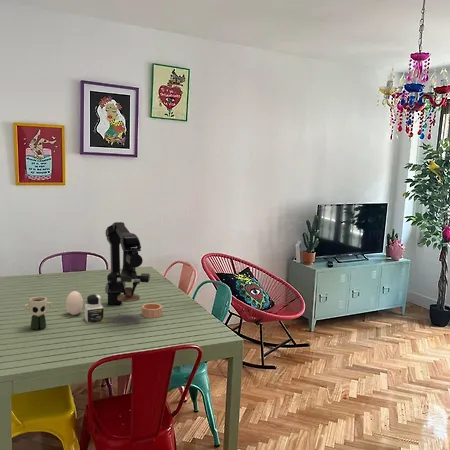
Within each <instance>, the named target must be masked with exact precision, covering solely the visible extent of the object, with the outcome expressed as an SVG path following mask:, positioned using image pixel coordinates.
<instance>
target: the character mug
mask: <svg viewBox="0 0 450 450" xmlns="http://www.w3.org/2000/svg"><path fill="white" fill-rule="evenodd" d="M48 305H49V306H48ZM23 307H24V310H23V311H24V312H25V313H26V312H29V314H30V315H31V320H30V328H31V329H33V330H39V328H40V330H43V329H45V328H46V327H47V321H46V316H45V314H46V313H47V311H48V310H52V308H53V305H52V301H48V298H47V297H46V296H34V297H30V298H29V301H28V303H26V304H24V305H23Z"/></svg>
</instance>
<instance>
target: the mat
mask: <svg viewBox="0 0 450 450" xmlns="http://www.w3.org/2000/svg"><path fill="white" fill-rule="evenodd" d="M142 317H143V316H142V315H141V314H129V313H128V314H125V313H118V315H117V316H116V317H115V320H113V323H116V324H119V323H121V324H137V325H138V324H139V322H140V320H141V318H142Z"/></svg>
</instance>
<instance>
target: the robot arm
mask: <svg viewBox="0 0 450 450" xmlns="http://www.w3.org/2000/svg"><path fill="white" fill-rule="evenodd" d="M105 237H106V241H107V242H108V243H109V246H110V247H109V249H110V250H109V251H110V273H108V275H107V277H106V278H107V279H106V280H107V282H106V285H105V287H104V291H105V294H107V304H106V306H117V307H119V306H121V305H122V303H123V302H122V301H119V300H118V295H121V294H124V295H125V288H126V287H127V286H126V285H127V284H126V283H131V282H132V281H133V282H132V287H131V288H132V296H133V294H135V291H136V288H137V287H138V284H140V283H150V281H151V274H150V273H141V274H140V275H138V273H137V271H136V268H139V267H141V265H142V264H143V261H144V260H143V258H142V256H141V255H140V254H139V252H141V251H142V249H141V248H142V245H141V241H140V239H139V237H138V235H136V234H135V233H132V232H130V231H129V230H128V228H127V227H126V225H125V223H124V222H123V221H121V222H120V221H115V222H113V223H112V224H111V225H109V226H107V228H106V230H105ZM120 247H121V249H120ZM121 250H122V269H121Z"/></svg>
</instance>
